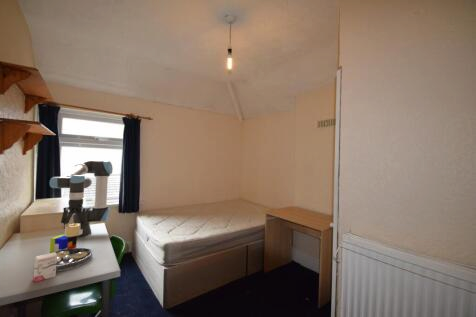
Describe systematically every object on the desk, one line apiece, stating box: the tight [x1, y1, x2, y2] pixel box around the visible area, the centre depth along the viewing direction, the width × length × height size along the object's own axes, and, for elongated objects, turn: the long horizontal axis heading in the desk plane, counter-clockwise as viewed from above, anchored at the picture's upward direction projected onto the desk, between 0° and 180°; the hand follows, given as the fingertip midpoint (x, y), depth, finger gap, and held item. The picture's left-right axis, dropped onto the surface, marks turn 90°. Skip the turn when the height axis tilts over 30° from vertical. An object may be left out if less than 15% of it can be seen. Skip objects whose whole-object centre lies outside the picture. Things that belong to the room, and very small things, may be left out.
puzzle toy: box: [49, 233, 78, 253], centre depth 145 cm, size 10×10×10 cm
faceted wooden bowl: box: [64, 223, 80, 237], centre depth 133 cm, size 8×8×6 cm
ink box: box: [32, 252, 57, 283], centre depth 111 cm, size 9×5×12 cm, turn 139°
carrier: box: [53, 247, 93, 273], centre depth 129 cm, size 26×26×6 cm
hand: (73, 234), depth 133 cm, fingers closed on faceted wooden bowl, 8 cm apart
